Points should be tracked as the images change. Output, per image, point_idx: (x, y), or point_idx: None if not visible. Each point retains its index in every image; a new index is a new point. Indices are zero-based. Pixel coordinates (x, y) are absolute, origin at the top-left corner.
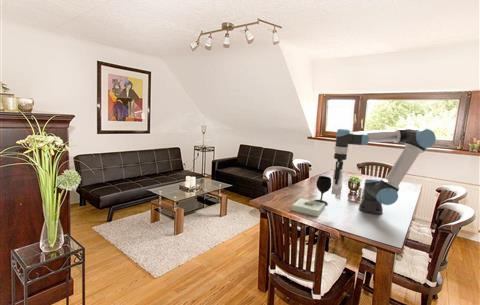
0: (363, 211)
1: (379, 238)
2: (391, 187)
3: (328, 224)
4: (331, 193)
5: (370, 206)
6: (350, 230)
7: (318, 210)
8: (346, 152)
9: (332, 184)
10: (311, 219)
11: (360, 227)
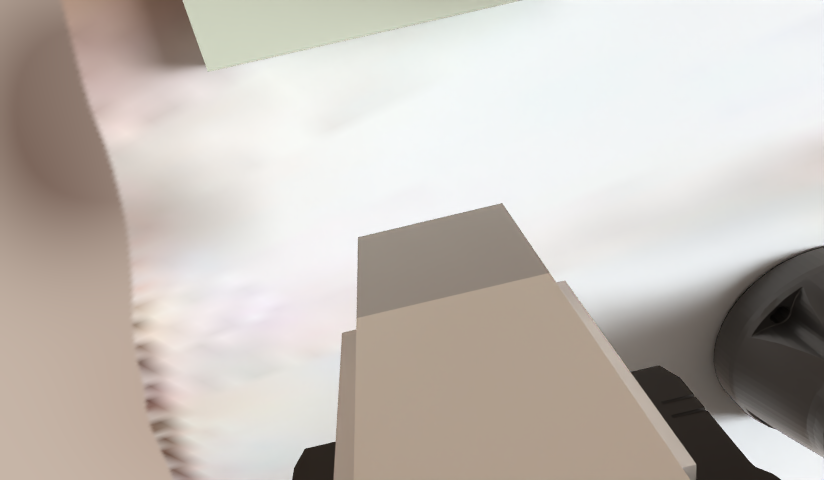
0: (732, 309)
1: None
2: None
3: (144, 230)
4: (359, 240)
5: (767, 394)
6: (206, 388)
7: (218, 61)
8: None
9: (357, 349)
10: (83, 47)
11: (334, 409)
